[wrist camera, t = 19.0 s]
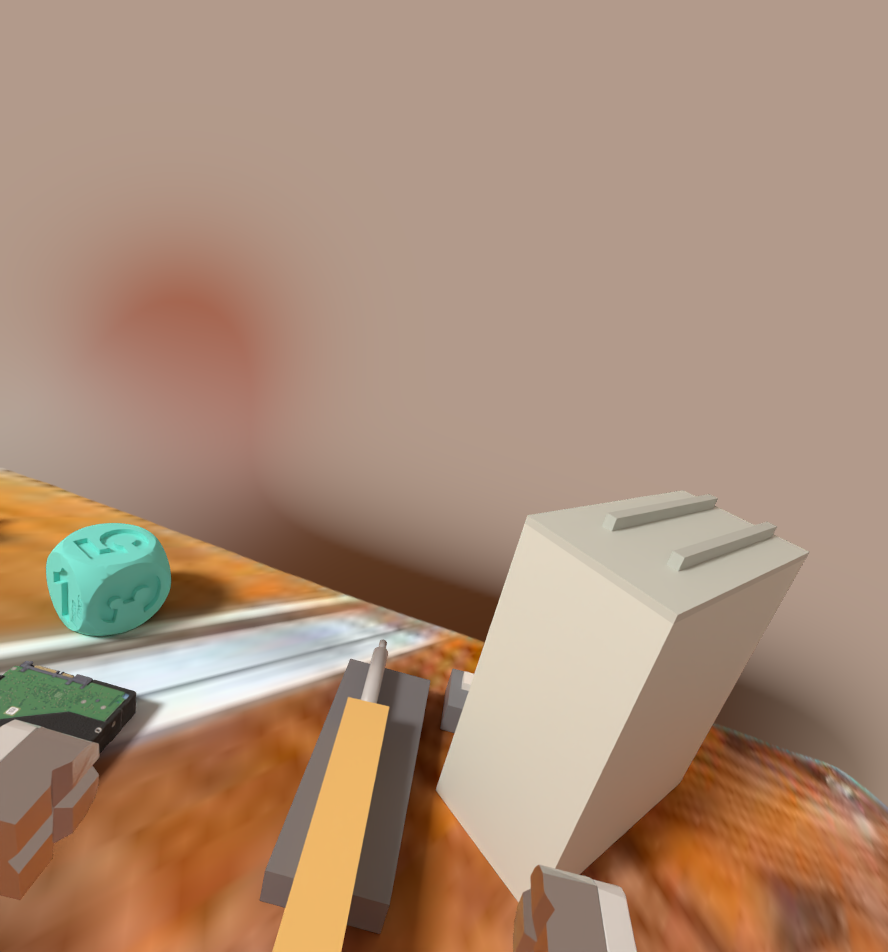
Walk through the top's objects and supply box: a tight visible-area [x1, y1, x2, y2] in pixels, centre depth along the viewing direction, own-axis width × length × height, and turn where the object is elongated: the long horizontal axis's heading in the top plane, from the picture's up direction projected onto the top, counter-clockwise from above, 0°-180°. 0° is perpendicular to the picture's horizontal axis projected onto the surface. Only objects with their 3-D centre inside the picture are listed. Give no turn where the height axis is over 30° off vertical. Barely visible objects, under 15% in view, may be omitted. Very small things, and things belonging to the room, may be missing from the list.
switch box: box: [440, 669, 474, 733], centre depth 52 cm, size 8×5×4 cm, turn 84°
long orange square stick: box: [272, 640, 389, 952], centre depth 39 cm, size 30×3×3 cm, turn 177°
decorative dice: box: [46, 523, 171, 636], centre depth 53 cm, size 8×8×8 cm
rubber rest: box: [260, 659, 430, 934], centre depth 43 cm, size 8×20×3 cm, turn 174°
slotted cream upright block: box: [436, 491, 809, 902], centre depth 44 cm, size 22×11×27 cm, turn 129°
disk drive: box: [0, 661, 136, 753], centre depth 38 cm, size 10×3×15 cm
